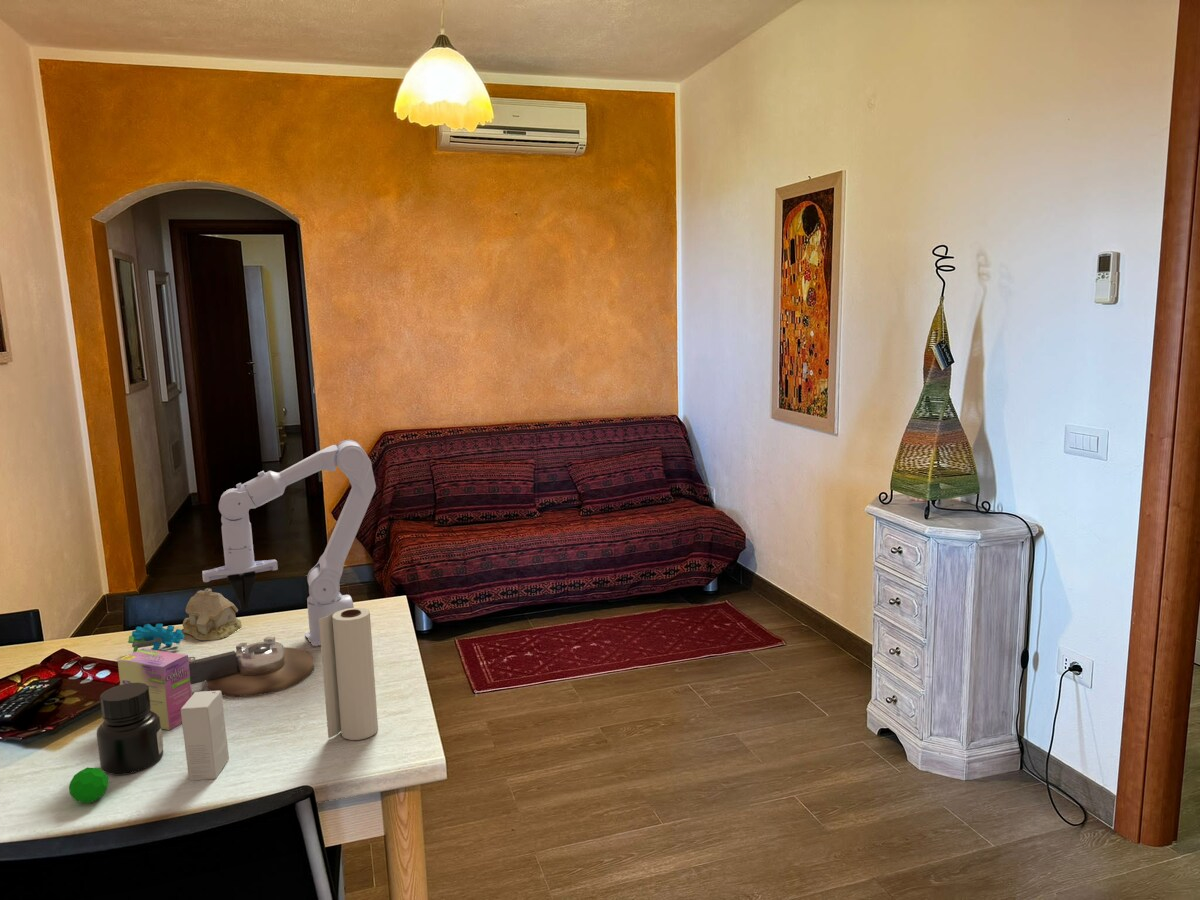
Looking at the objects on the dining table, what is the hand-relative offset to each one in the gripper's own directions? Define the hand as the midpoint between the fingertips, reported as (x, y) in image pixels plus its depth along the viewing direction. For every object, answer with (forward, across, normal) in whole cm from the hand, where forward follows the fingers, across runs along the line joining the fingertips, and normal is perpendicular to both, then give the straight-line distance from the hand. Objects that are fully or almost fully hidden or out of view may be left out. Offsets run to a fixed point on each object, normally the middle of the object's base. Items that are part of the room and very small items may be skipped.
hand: (244, 607), depth 180 cm
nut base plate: (+9, 0, +15) cm, 18 cm away
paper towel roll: (+10, -9, +50) cm, 52 cm away
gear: (+10, +17, -10) cm, 22 cm away
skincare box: (+10, +14, +49) cm, 52 cm away
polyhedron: (+10, +30, +48) cm, 57 cm away
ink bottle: (+10, +24, +39) cm, 47 cm away
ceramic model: (+10, +5, -17) cm, 21 cm away
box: (+10, +19, +25) cm, 33 cm away
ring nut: (+8, +4, +15) cm, 18 cm away
